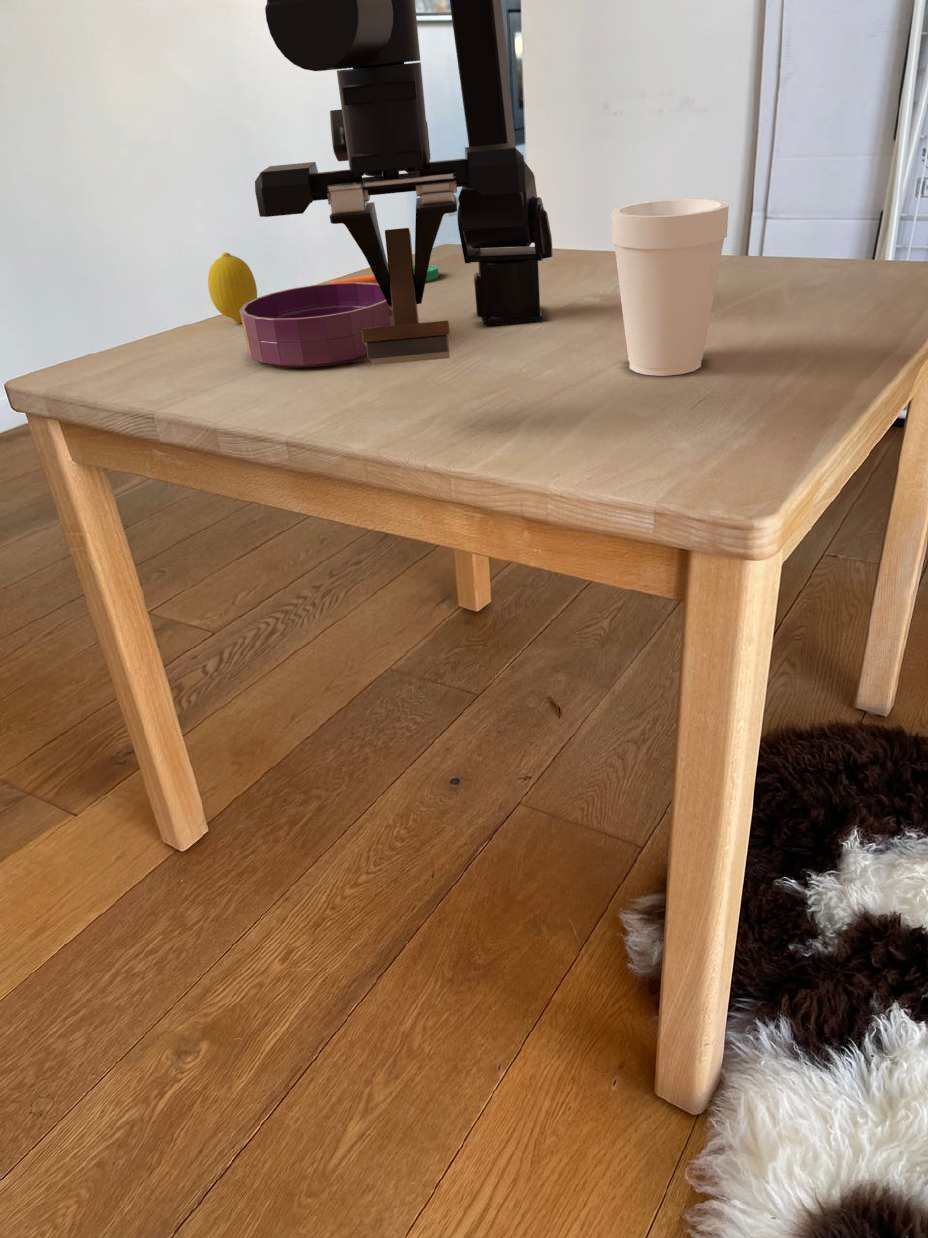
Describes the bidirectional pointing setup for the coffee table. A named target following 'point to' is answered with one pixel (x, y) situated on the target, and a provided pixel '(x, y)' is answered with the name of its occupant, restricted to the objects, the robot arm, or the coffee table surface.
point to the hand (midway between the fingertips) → (405, 303)
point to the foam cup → (668, 279)
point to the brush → (405, 314)
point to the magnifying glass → (431, 275)
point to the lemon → (231, 285)
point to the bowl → (314, 324)
